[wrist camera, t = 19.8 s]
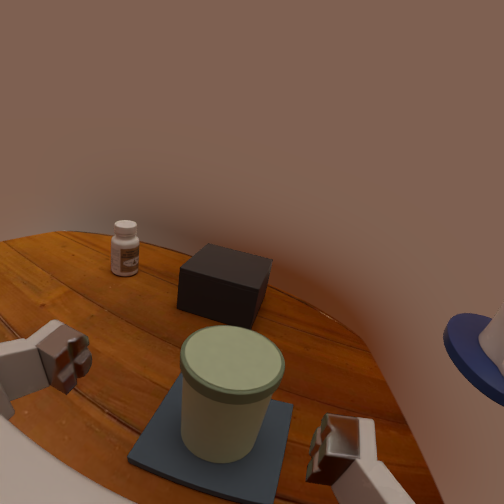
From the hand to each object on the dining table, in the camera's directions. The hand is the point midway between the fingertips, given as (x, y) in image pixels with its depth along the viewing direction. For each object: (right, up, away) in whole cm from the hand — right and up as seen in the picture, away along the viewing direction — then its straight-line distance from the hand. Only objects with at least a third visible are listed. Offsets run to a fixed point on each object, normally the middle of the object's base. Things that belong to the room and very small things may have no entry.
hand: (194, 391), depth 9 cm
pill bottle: (-18, +1, +37) cm, 41 cm away
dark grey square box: (-2, -3, +34) cm, 34 cm away
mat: (-1, -11, +13) cm, 17 cm away
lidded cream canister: (-1, -10, +13) cm, 16 cm away
